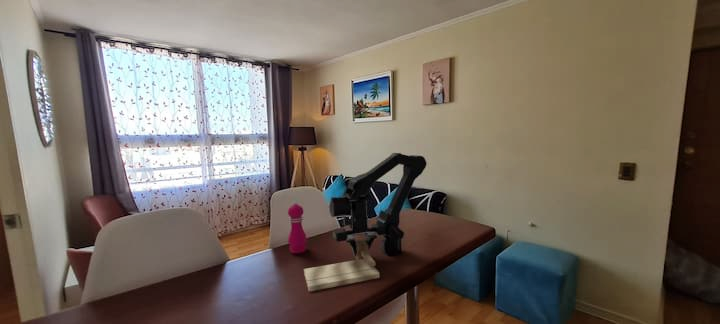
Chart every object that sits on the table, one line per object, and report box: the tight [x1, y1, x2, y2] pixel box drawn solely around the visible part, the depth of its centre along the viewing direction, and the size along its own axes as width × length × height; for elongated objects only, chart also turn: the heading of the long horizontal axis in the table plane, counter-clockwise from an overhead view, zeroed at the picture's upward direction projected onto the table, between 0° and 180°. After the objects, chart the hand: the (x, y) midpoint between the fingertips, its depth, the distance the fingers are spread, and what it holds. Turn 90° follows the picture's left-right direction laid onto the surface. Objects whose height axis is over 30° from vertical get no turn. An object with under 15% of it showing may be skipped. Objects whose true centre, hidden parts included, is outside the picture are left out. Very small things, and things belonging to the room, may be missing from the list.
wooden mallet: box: [352, 239, 376, 267], centre depth 99 cm, size 4×16×6 cm, turn 18°
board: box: [303, 259, 381, 293], centre depth 92 cm, size 22×12×2 cm, turn 108°
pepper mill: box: [287, 200, 308, 254], centre depth 113 cm, size 7×7×20 cm
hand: (360, 254), depth 104 cm, fingers closed on wooden mallet, 4 cm apart
